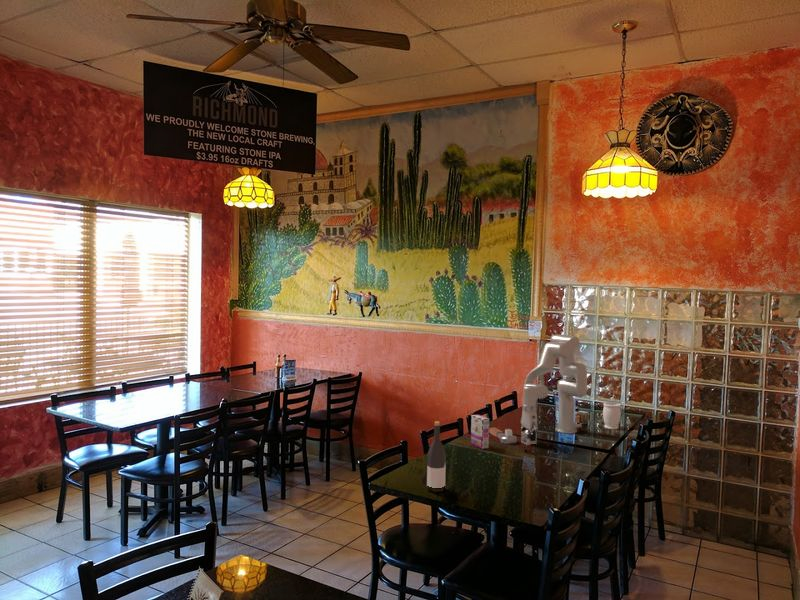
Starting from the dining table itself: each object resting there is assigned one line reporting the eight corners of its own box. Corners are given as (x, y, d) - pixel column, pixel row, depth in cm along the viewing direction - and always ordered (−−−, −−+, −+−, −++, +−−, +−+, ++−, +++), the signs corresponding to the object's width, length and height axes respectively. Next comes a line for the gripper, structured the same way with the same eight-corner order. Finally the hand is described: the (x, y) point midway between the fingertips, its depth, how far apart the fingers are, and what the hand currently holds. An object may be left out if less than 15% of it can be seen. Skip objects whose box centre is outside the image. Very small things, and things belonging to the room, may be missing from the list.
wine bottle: (425, 486, 263) (426, 419, 262) (443, 486, 264) (444, 419, 263) (427, 493, 255) (429, 424, 254) (446, 492, 256) (447, 424, 254)
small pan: (498, 431, 355) (498, 419, 355) (519, 443, 330) (519, 431, 330) (484, 432, 352) (484, 420, 352) (504, 444, 328) (505, 432, 327)
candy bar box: (489, 448, 321) (490, 418, 320) (481, 449, 319) (482, 419, 318) (477, 443, 331) (478, 414, 330) (470, 444, 329) (470, 414, 328)
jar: (621, 430, 361) (622, 406, 360) (604, 429, 363) (604, 405, 362) (618, 425, 371) (619, 402, 371) (601, 425, 373) (601, 401, 372)
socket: (530, 441, 335) (531, 428, 335) (536, 444, 329) (536, 431, 329) (521, 442, 333) (521, 429, 333) (526, 445, 328) (526, 432, 327)
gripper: (543, 411, 323) (542, 442, 324) (527, 404, 340) (526, 434, 340) (531, 411, 321) (530, 443, 322) (515, 405, 338) (514, 434, 338)
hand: (528, 438), depth 331 cm, fingers open, 9 cm apart
